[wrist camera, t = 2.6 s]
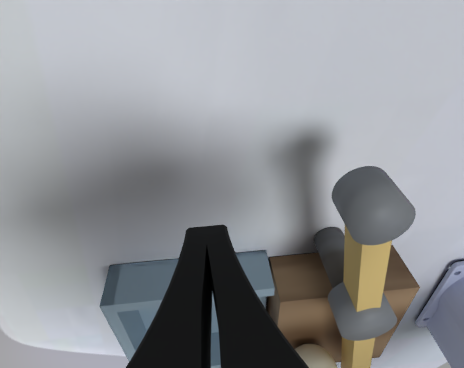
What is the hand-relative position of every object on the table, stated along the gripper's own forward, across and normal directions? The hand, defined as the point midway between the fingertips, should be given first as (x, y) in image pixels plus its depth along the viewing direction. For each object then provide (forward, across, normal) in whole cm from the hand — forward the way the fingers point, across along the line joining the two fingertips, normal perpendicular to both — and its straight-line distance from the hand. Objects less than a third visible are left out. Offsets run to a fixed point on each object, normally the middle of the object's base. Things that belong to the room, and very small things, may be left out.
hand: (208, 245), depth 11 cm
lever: (+2, -8, +8) cm, 11 cm away
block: (+6, -8, +13) cm, 17 cm away
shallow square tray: (+6, +2, +14) cm, 15 cm away
